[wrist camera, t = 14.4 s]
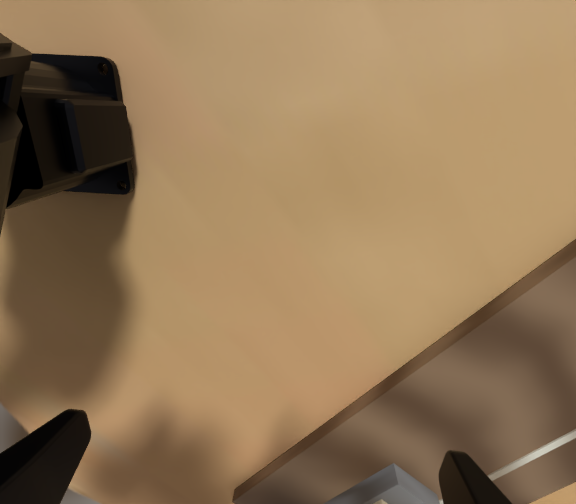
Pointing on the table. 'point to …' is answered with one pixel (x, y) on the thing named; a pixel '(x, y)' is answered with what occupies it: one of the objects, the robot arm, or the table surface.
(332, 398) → the table surface
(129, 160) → the robot arm
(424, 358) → the walnut board
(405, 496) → the cube with dome top
